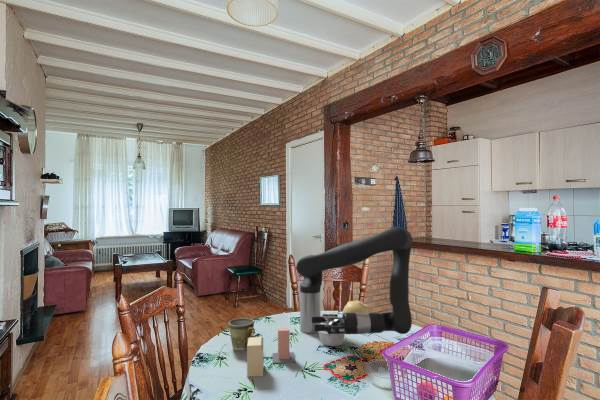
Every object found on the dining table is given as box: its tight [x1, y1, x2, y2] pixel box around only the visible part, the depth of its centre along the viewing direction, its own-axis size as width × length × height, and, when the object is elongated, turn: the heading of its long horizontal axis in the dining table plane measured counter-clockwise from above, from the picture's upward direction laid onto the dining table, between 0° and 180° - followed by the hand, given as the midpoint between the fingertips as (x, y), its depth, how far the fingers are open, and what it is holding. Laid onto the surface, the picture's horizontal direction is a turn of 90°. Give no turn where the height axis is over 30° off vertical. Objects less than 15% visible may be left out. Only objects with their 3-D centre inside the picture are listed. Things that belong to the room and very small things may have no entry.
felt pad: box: [272, 351, 296, 365], centre depth 121 cm, size 8×8×1 cm
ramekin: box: [317, 331, 346, 347], centre depth 137 cm, size 11×11×5 cm
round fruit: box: [342, 300, 370, 314], centre depth 159 cm, size 12×12×11 cm
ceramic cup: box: [228, 317, 256, 351], centre depth 131 cm, size 13×10×10 cm
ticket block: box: [246, 336, 267, 378], centre depth 111 cm, size 6×7×10 cm
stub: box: [277, 327, 290, 359], centre depth 122 cm, size 4×3×10 cm
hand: (313, 323), depth 123 cm, fingers open, 8 cm apart
